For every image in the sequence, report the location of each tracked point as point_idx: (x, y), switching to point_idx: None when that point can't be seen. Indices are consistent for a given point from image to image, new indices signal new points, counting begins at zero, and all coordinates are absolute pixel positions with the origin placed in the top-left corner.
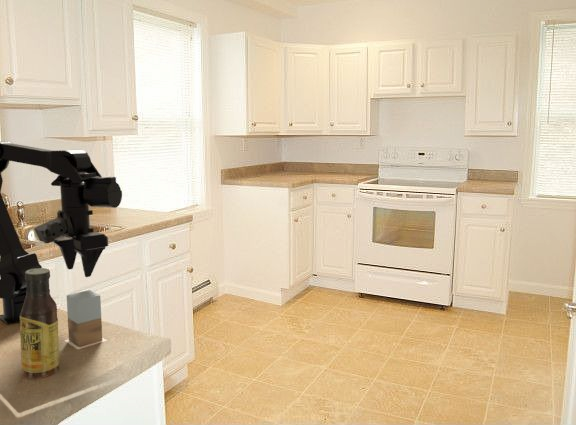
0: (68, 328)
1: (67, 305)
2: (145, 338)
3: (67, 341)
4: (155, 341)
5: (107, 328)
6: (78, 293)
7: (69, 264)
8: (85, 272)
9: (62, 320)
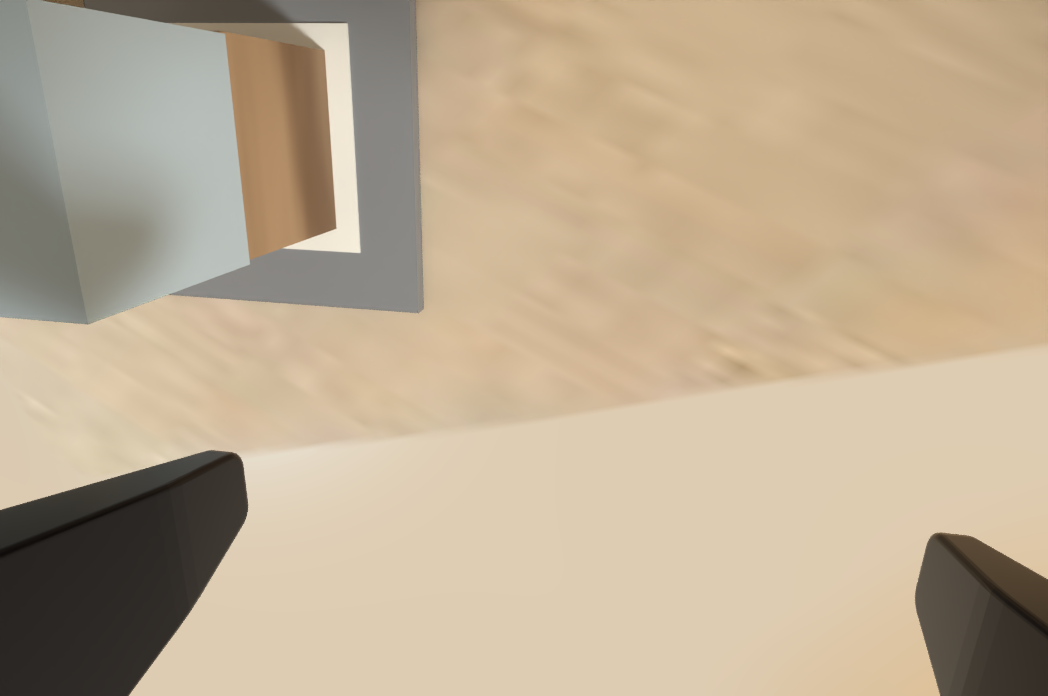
0: (272, 41)
1: (123, 17)
2: (125, 424)
3: (312, 32)
4: (59, 432)
5: (413, 371)
6: (22, 157)
7: (967, 618)
8: (129, 474)
9: (833, 233)
